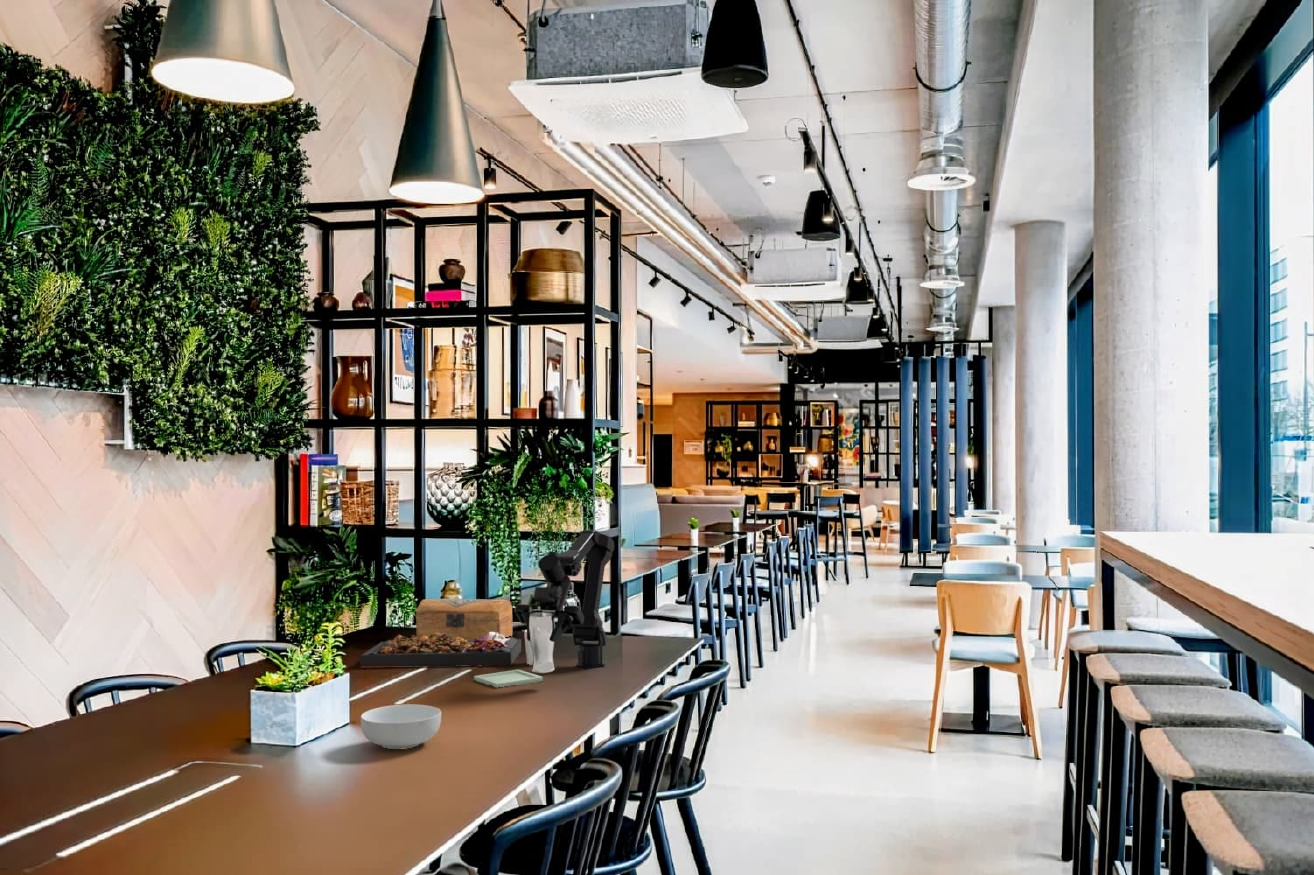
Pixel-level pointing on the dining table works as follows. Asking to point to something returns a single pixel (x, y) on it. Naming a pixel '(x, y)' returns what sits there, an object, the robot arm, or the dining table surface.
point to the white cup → (528, 650)
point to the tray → (508, 678)
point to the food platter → (443, 651)
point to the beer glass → (542, 641)
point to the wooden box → (464, 617)
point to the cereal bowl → (400, 725)
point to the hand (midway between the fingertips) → (540, 640)
